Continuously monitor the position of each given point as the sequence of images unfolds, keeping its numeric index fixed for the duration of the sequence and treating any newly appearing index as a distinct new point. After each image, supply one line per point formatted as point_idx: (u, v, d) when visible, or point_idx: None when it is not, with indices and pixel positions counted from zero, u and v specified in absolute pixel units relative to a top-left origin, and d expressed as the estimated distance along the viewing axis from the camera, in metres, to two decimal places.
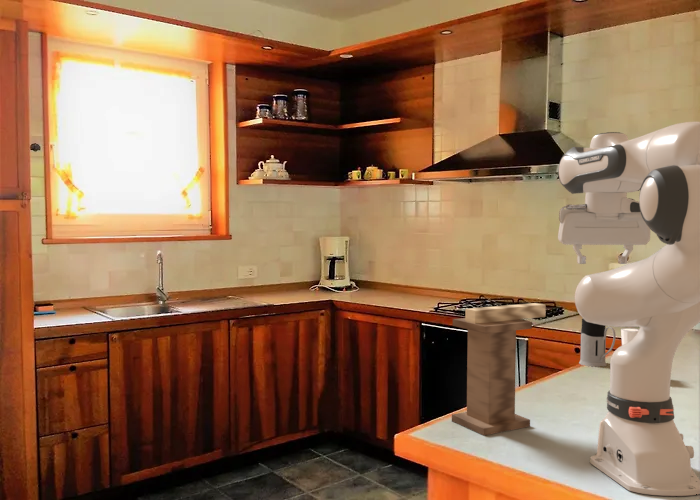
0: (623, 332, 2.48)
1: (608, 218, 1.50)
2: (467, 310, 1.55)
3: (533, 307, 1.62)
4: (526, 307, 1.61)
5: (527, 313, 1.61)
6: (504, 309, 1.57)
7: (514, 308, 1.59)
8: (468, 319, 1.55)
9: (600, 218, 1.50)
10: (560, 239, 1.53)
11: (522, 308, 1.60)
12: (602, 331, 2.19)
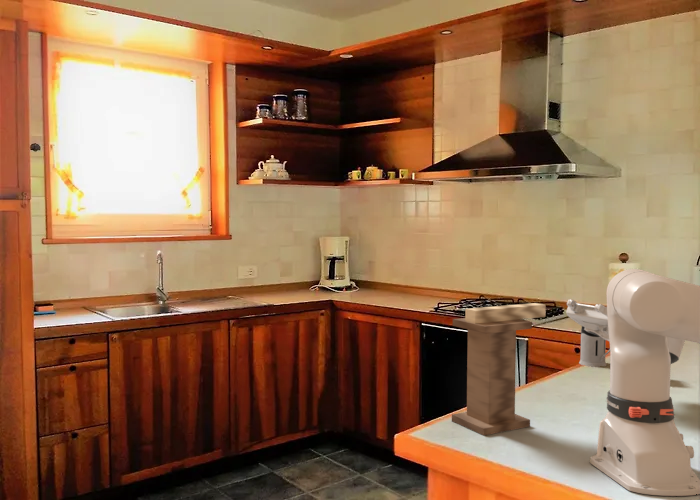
0: None
1: (605, 332, 1.75)
2: (467, 310, 1.55)
3: (533, 307, 1.62)
4: (526, 307, 1.61)
5: (527, 313, 1.61)
6: (504, 309, 1.57)
7: (514, 308, 1.59)
8: (468, 319, 1.55)
9: None
10: None
11: (522, 308, 1.60)
12: None
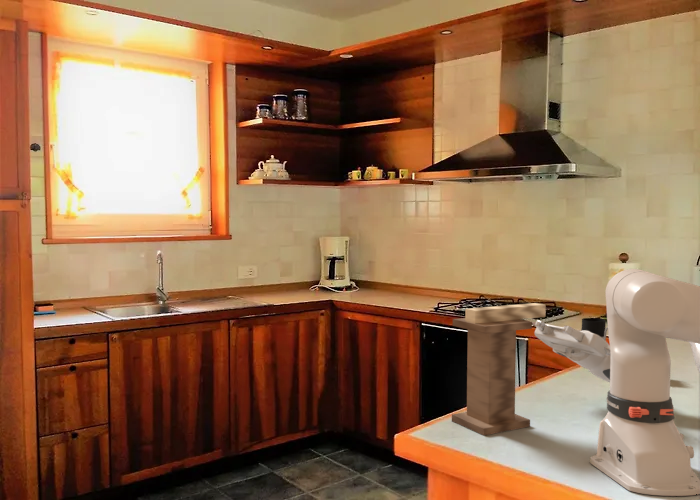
0: None
1: (573, 354, 1.72)
2: (467, 310, 1.55)
3: (533, 307, 1.62)
4: (526, 307, 1.61)
5: (527, 313, 1.61)
6: (504, 309, 1.57)
7: (514, 308, 1.59)
8: (468, 319, 1.55)
9: (578, 353, 1.70)
10: (595, 344, 1.61)
11: (522, 308, 1.60)
12: (602, 331, 2.19)
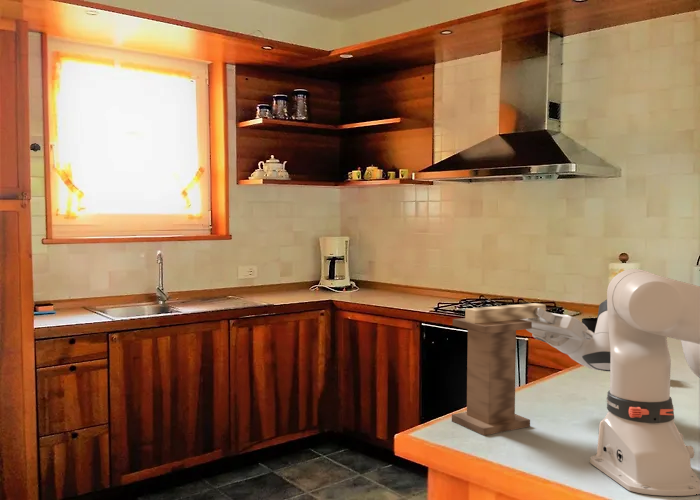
0: None
1: (552, 339, 1.67)
2: (467, 310, 1.56)
3: (533, 307, 1.62)
4: (526, 307, 1.60)
5: (527, 313, 1.61)
6: (504, 309, 1.57)
7: (514, 308, 1.59)
8: (468, 319, 1.55)
9: (557, 338, 1.66)
10: (573, 327, 1.57)
11: (522, 308, 1.60)
12: None
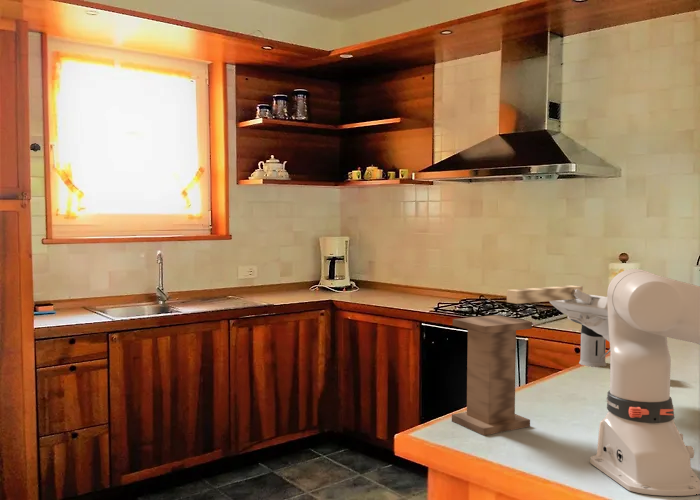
0: None
1: (588, 320, 1.73)
2: (508, 291, 1.61)
3: (571, 289, 1.67)
4: (564, 289, 1.66)
5: (565, 294, 1.67)
6: (544, 290, 1.63)
7: (553, 289, 1.65)
8: (509, 299, 1.61)
9: (594, 319, 1.72)
10: None
11: (561, 289, 1.66)
12: None
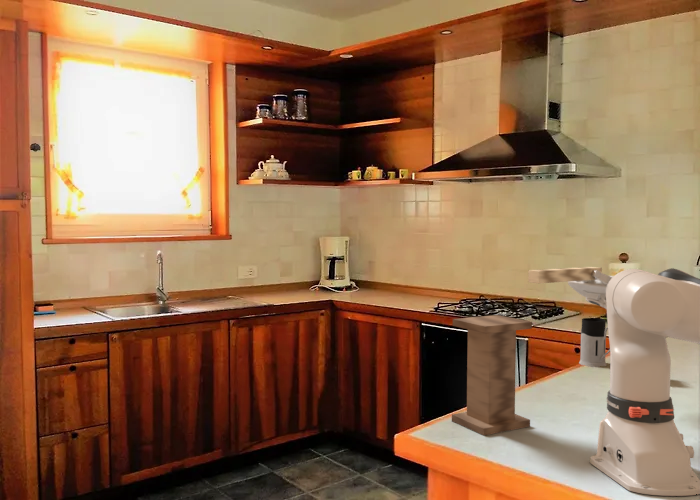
0: None
1: None
2: (530, 271, 1.64)
3: (590, 269, 1.70)
4: (584, 269, 1.69)
5: (585, 275, 1.70)
6: (564, 271, 1.66)
7: (573, 270, 1.67)
8: (531, 279, 1.64)
9: None
10: None
11: (581, 270, 1.69)
12: (602, 331, 2.19)
